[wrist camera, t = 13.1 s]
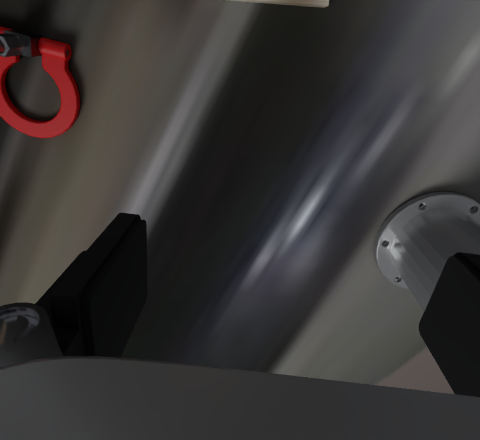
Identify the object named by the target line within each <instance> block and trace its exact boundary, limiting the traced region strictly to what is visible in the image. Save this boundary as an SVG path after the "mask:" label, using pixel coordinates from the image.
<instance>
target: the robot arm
mask: <svg viewBox="0 0 480 440" xmlns="http://www.w3.org/2000/svg"><path fill="white" fill-rule="evenodd" d="M374 255H375V260H376V263H377V265H378V267H379V269H380V271H381V272H382V274H383V275H384V276H385V277H386V278H387V280H389V281H390V282H391V283H393V284H394V285H397V286H399V287H401V288H404V289H409V290H410V291H411V292H412V294H413V295H414V297H415V298H416V300H417V301H418V303H419V304H420V306H421V307H422V309H423V310H424V314H423V316H422V318H421V321H420V323H419V332H420V335H421V337H422V338H423V340H424V342H425V343H426V345H427V347H428V349H429V350H430V352H431V354H432V355H433V357H434V359H435V360H436V362H437V364H438V366H439V367H440V369H441V371H442V373H443V374H444V376H445V378H446V379H447V381H448V383H449V385H450V386H451V388H452V390H453V391H454V393H455V394H448V393H439V392H431V391H422V390H412V389H404V388H395V387H387V386H386V387H385V386H378V385H369V384H360V383H352V382H343V381H334V380H325V379H317V378H308V377H299V376H290V375H282V374H273V373H264V372H255V371H246V370H237V369H227V368H218V367H209V366H200V365H191V364H181V363H172V362H163V361H153V360H140V359H127V358H120V357H121V355H122V353H123V351H124V348H125V346H126V344H127V342H128V339H129V337H130V335H131V333H132V331H133V328H134V326H135V324H136V322H137V320H138V317H139V315H140V313H141V311H142V308H143V306H144V304H145V301H146V298H147V232H146V221H145V220H141V218H140V216H139V215H136V214H127V213H119V214H118V215H117V216H116V217H115V219H114V220H113V221H112V222H111V223H110V224H109V225H108V227H107V228H106V229H105V230H104V231H103V232H102V233H101V235H100V236H99V237H98V238H97V239H96V240H95V242H94V243H93V244H92V245H91V246H90V247H89V248H88V250H87V251H83V252H82V253H80V254H79V255H78V257H77V258H76V259H75V260H74V261H73V262H72V263H71V264H70V266H69V267H68V268H67V269H66V270H65V271H64V272H63V273H62V275H61V276H60V277H59V278H58V279H57V280H56V281H55V282H54V284H53V285H52V286H51V287H50V288H49V289H48V290H47V291H46V293H45V294H44V295H43V296H42V297H41V298H40V299H39V300H38V302H37V303H36V304H32V303H13V304H8V305H3V306H0V440H480V204H479V203H478V202H476V201H475V200H473V199H472V198H470V197H468V196H466V195H463V194H459V193H456V192H444V191H443V192H434V193H429V194H425V195H422V196H419V197H417V198H414V199H412V200H410V201H408V202H406V203H405V204H403V205H402V206H400V207H399V208H398V209H396V210H395V211H394V212H393V213H392V214H391V215H390V216H389V217H388V218H387V219H386V221H385V222H384V223H383V225H382V226H381V228H380V230H379V232H378V234H377V237H376V240H375V246H374Z"/></svg>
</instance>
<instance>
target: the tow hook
mask: <svg viewBox="0 0 480 440" xmlns="http://www.w3.org/2000/svg"><path fill="white" fill-rule="evenodd" d="M20 55H24V56H27V57H35V56H42V66H43V68H44V70H45V71H47V72H48V73H49V74H50V75H51V77H52V78H53V79H54V81H55V82H56V84H57V86H58V88H59V91H60V94H61V107H60V111H59V112H58V114H57V116H56V117H54V118H53V119H52V120H49V121H37V120H33V119H31V118H29V117H27V116H25V115H24V114H22V113H21V112H20V111H19V110H18V109H17V108H16V107H15V106H14V105H13V104H12V102H11V100H10V99H9V97H8V94H7V92H6V87H5V77H6V73H7V71H8V69H9V68H10V67H11V66H12V65H13V64H14V63H17V62H19V60H20ZM70 58H71V46H70V45H69V44H66V43H62V42H58V41H55V40H51V39H47V38H44V37H43V36H40V35H36V34H32V33H29V32H25V31H21V30H13V29H9V28H5V27H1V26H0V116H1V117H2V118H3V119H4V120H5V121H6V122H7V123H8V124H10V125H11V126H12V127H14V128H15V129H17V130H18V131H20V132H23V133H25V134H27V135H29V136H34V137H39V138H49V137H55V136H57V135H60V134H62V133H64V132H65V131H67V130H68V129H69V128H70V127H72V126H73V124H74V122H75V121H76V119H77V118H78V114H79V110H80V95H79V91H78V88H77V84H76V82H75V80H74V78H73V76H72V74H71V72H70V71H69V69H68V61H69V60H70Z"/></svg>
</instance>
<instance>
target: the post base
mask: <svg viewBox="0 0 480 440" xmlns="http://www.w3.org/2000/svg"><path fill="white" fill-rule="evenodd" d="M230 1H243V2H256V3H270V4H283V5H297V6H310V7H324V8H325V7H327V6H328V4H329V0H230Z"/></svg>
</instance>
